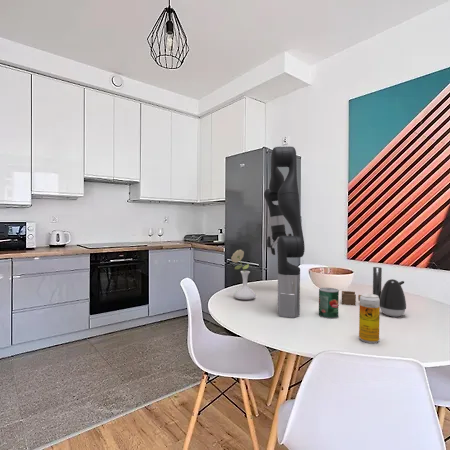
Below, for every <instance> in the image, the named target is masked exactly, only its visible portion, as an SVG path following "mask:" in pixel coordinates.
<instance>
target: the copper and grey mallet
mask: <svg viewBox="0 0 450 450" xmlns="http://www.w3.org/2000/svg"><path fill="white" fill-rule="evenodd" d="M382 269H383V267H380V266H373V267H372V294H374V295H377V296H379V299H380V295H381V292H382V281H383V280H382V277H383V276H382V275H383V274H382ZM360 296H361V294H358V298H357V299H358V302H360Z"/></svg>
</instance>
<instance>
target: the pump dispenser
mask: <svg viewBox="0 0 450 450" xmlns="http://www.w3.org/2000/svg"><path fill="white" fill-rule="evenodd" d="M403 284H405V281H404V280H402V281H398V280H397V279H394V278H393V279H392V278H391V279H388V280H387V281H386V282H385V283H384V285H383V287H382V288H381V295H380V312H382V313H383V314H385V315H386V316H388V317H393V318H398V317H401V316H403V315H404V314H405V311H406V309H407V301H406V295H405V292H404V289H403V287H402V285H403Z"/></svg>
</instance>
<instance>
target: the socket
mask: <svg viewBox="0 0 450 450" xmlns="http://www.w3.org/2000/svg"><path fill="white" fill-rule="evenodd" d="M355 293H356V292H355V291H350V290H349V291H348V290H341V305H345V306H356V303H357V297H356V296H357V295H356V294H355Z"/></svg>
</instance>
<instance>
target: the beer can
mask: <svg viewBox="0 0 450 450" xmlns="http://www.w3.org/2000/svg"><path fill="white" fill-rule="evenodd" d="M360 295H361V296H360V301H359V307H358V308H359V314H358V315H359V317H358V319H359V320H358V321H359V323H358V325H359V326H358V338H359V339H360V340H361V341H362V342H364V343H367V344H377V343H378V341H380V317H381V316H380V313H381V308H380V299H379V296H377V295H374V294H373V293H361V294H360Z"/></svg>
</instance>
